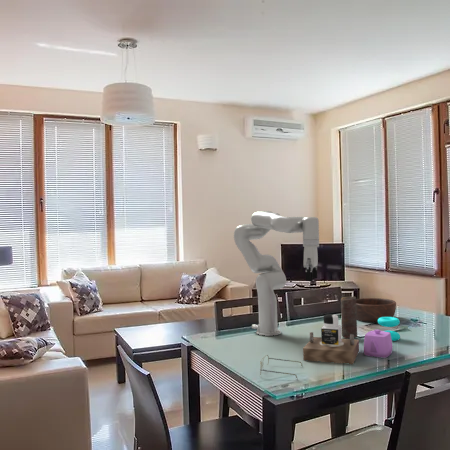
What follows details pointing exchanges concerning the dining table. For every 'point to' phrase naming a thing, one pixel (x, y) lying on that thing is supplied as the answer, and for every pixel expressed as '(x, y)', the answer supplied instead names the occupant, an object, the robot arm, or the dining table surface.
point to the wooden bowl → (374, 309)
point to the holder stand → (331, 350)
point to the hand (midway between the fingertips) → (311, 279)
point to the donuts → (390, 323)
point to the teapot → (378, 343)
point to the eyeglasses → (274, 371)
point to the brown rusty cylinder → (348, 317)
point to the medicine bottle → (331, 330)
